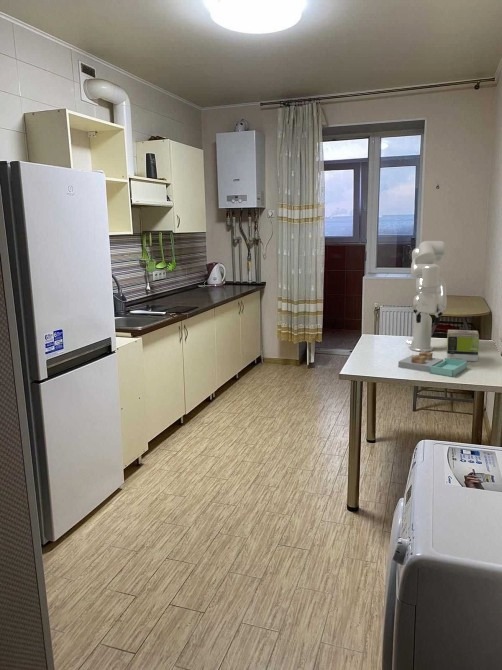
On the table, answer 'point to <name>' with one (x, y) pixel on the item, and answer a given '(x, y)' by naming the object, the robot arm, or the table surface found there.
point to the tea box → (462, 345)
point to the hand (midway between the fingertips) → (427, 323)
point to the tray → (449, 367)
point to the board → (420, 367)
